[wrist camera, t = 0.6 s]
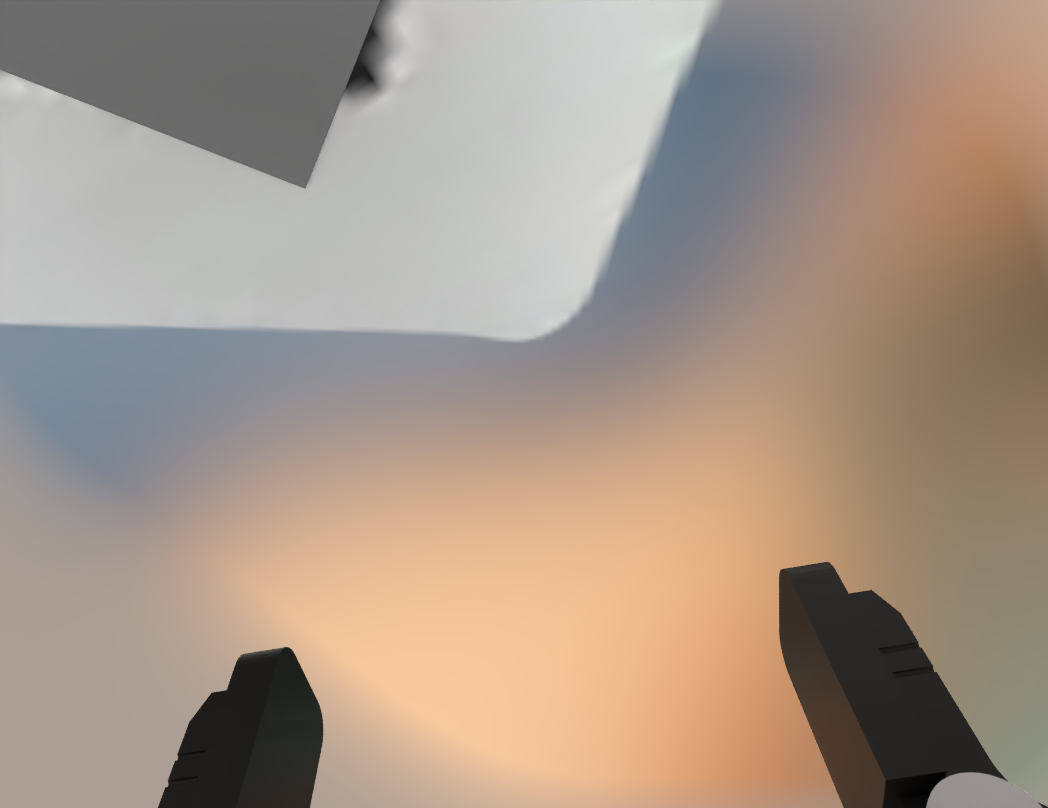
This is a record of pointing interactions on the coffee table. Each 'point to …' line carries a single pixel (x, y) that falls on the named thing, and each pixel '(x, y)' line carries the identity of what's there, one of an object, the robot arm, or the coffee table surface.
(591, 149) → the coffee table surface
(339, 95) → the mat
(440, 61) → the coffee table surface
